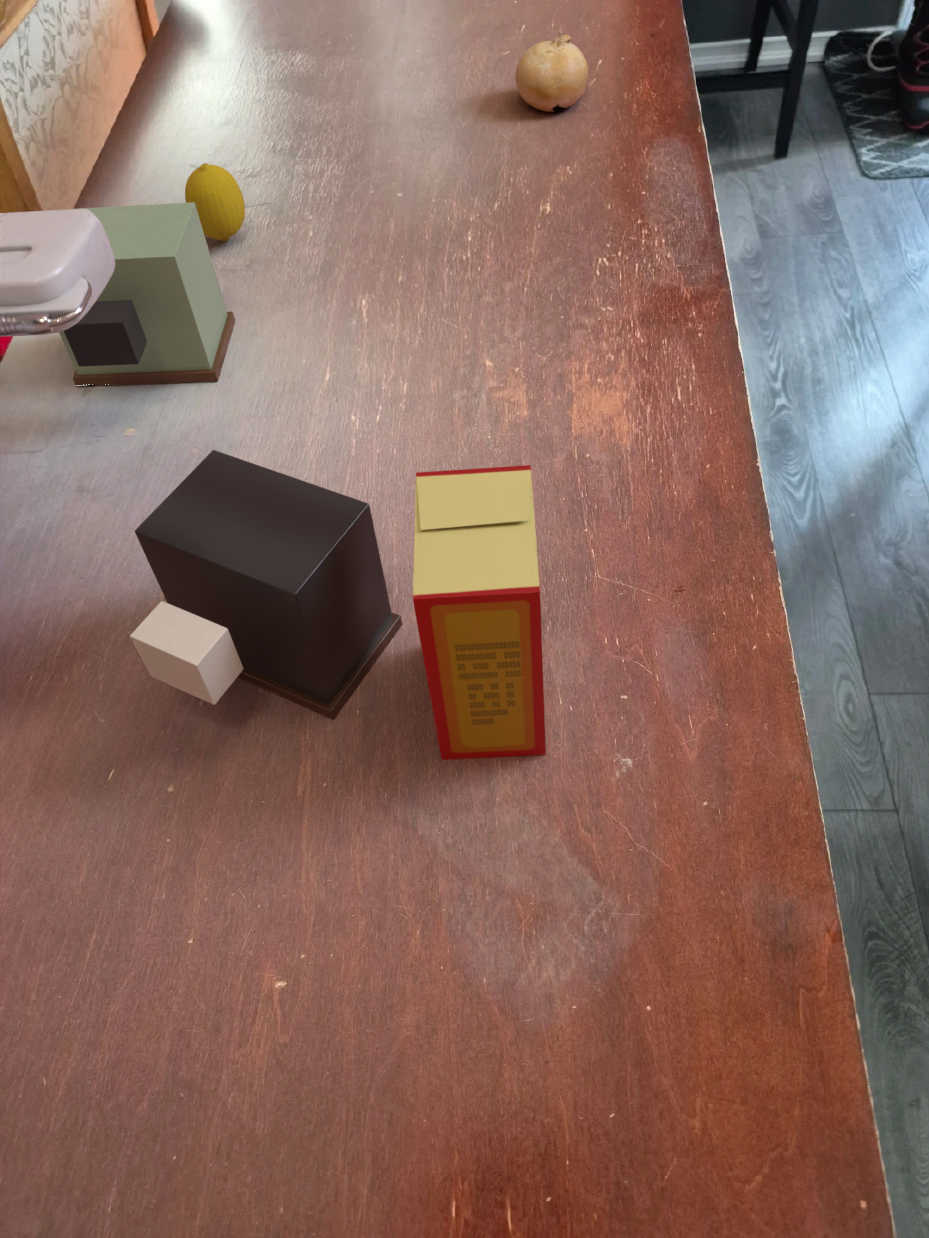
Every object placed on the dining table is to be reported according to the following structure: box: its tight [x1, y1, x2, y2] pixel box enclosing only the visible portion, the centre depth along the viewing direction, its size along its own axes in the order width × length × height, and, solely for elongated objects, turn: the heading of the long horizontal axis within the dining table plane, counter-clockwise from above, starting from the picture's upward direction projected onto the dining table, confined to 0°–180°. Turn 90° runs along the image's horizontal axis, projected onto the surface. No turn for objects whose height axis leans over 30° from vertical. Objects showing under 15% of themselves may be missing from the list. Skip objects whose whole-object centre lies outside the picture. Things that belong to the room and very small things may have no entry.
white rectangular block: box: [129, 600, 244, 706], centre depth 64 cm, size 3×5×4 cm, turn 61°
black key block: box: [134, 449, 403, 720], centre depth 69 cm, size 9×13×12 cm
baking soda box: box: [412, 464, 547, 761], centre depth 64 cm, size 10×6×16 cm
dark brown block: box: [64, 300, 147, 367], centre depth 85 cm, size 3×5×4 cm, turn 88°
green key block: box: [58, 202, 236, 386], centre depth 92 cm, size 9×13×12 cm
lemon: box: [184, 162, 246, 243], centre depth 104 cm, size 6×6×8 cm
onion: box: [515, 27, 589, 113], centre depth 117 cm, size 8×8×7 cm
